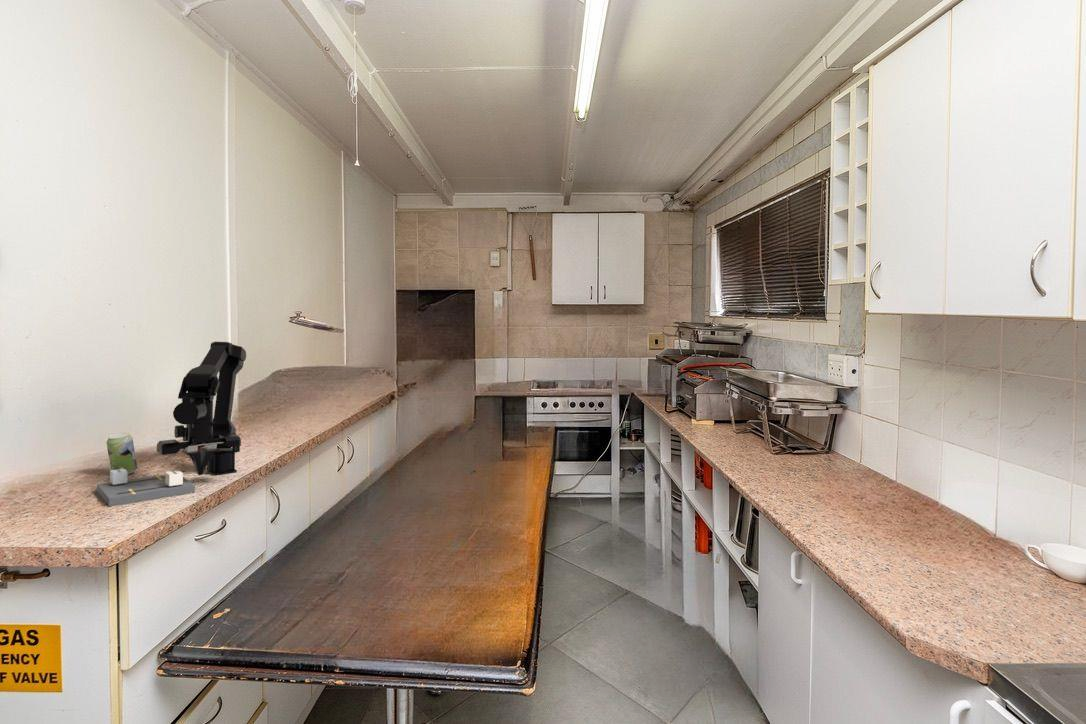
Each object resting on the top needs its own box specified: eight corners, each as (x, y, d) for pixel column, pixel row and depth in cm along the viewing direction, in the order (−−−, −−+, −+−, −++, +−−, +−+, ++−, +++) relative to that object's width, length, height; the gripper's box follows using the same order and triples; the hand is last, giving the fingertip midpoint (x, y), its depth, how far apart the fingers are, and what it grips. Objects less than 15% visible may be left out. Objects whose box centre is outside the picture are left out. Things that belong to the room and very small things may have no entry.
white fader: (124, 479, 144) (124, 468, 144) (127, 482, 142) (127, 471, 141) (109, 481, 142) (109, 469, 142) (113, 484, 139) (113, 472, 139)
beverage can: (142, 471, 161) (142, 432, 160) (120, 478, 154) (121, 436, 153) (123, 470, 162) (123, 430, 161) (100, 476, 154) (100, 435, 154)
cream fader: (178, 481, 145) (178, 469, 145) (182, 484, 142) (182, 472, 142) (165, 482, 143) (165, 471, 143) (169, 486, 140) (169, 474, 140)
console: (177, 479, 154) (177, 472, 154) (194, 492, 144) (194, 484, 144) (97, 491, 141) (97, 483, 141) (109, 506, 130) (109, 498, 130)
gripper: (228, 411, 159) (227, 464, 159) (151, 417, 145) (151, 474, 145) (241, 416, 151) (241, 471, 152) (162, 423, 137) (162, 483, 138)
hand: (200, 474), depth 147 cm, fingers closed
